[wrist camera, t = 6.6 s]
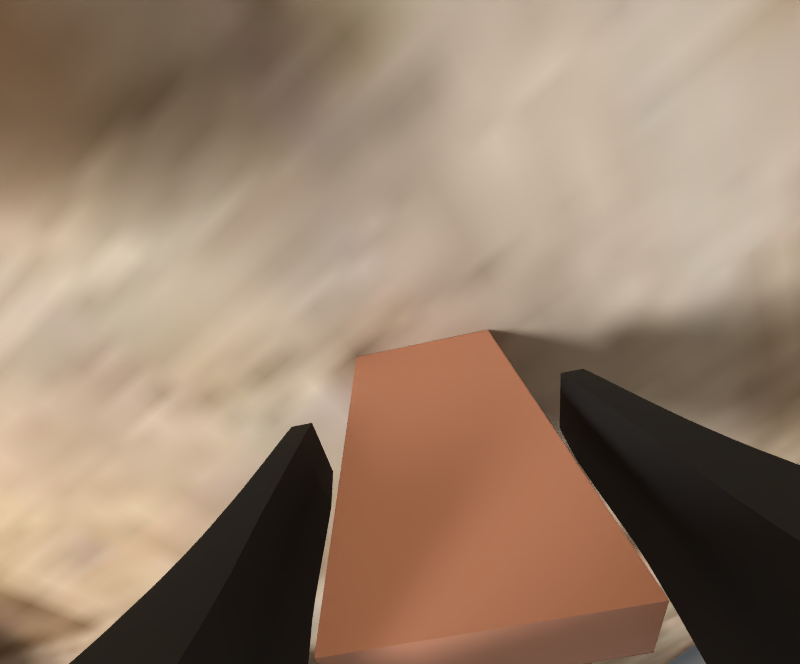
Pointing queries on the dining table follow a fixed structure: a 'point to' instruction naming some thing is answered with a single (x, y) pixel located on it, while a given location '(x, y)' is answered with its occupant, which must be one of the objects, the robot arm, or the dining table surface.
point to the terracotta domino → (472, 526)
